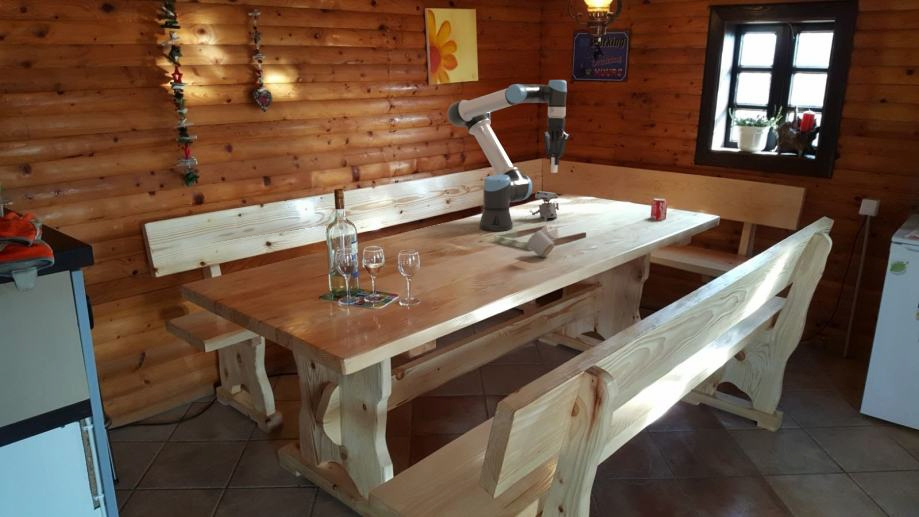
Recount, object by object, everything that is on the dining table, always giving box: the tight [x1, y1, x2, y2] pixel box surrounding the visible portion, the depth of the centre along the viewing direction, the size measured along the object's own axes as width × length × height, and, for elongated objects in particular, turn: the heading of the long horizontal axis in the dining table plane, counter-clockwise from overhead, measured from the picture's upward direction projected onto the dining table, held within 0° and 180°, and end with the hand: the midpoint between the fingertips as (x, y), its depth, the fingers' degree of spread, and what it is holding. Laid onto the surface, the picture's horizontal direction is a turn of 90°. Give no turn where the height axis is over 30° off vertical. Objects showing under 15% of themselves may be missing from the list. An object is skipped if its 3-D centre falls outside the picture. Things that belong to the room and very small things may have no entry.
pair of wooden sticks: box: [493, 225, 587, 251], centre depth 282 cm, size 21×34×2 cm, turn 133°
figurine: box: [530, 190, 560, 222], centre depth 318 cm, size 9×12×15 cm
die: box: [540, 224, 560, 239], centre depth 278 cm, size 8×9×10 cm
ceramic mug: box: [526, 230, 555, 258], centre depth 254 cm, size 11×8×8 cm
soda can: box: [650, 197, 668, 221], centre depth 317 cm, size 7×7×12 cm
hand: (554, 172), depth 293 cm, fingers closed
